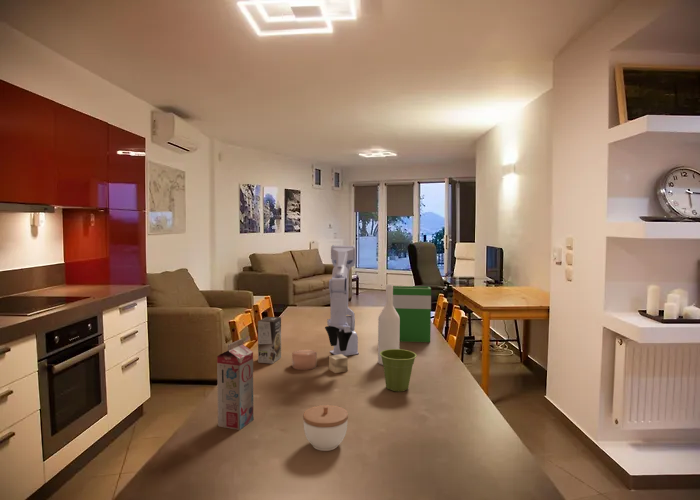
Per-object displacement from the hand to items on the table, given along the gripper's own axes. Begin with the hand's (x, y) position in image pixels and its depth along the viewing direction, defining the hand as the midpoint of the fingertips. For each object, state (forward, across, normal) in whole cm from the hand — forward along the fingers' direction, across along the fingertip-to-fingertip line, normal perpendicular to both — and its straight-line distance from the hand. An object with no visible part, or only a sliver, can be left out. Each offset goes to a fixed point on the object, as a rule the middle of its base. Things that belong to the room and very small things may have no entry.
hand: (338, 348), depth 168 cm
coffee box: (+8, -23, -18) cm, 30 cm away
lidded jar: (+8, +49, -28) cm, 57 cm away
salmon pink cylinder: (+8, -10, -9) cm, 16 cm away
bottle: (+8, +1, +21) cm, 23 cm away
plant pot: (+8, +25, +9) cm, 28 cm away
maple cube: (+8, 0, 0) cm, 8 cm away
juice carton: (+8, +27, -44) cm, 52 cm away
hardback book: (+8, -24, +49) cm, 55 cm away
